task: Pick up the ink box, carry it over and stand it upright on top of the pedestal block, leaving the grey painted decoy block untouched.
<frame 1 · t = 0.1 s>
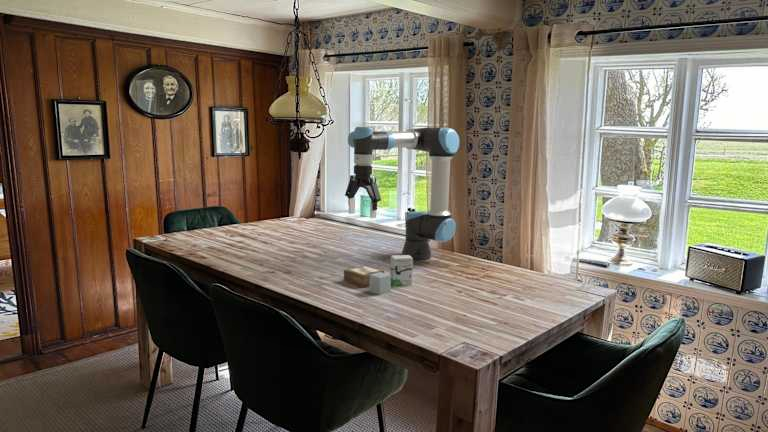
hand: (362, 215, 223), 28 cm above the table, fingers open, 13 cm apart
pedestal: (363, 281, 225), on the table
decoy block: (379, 291, 212), on the table
ink box: (400, 284, 223), on the table
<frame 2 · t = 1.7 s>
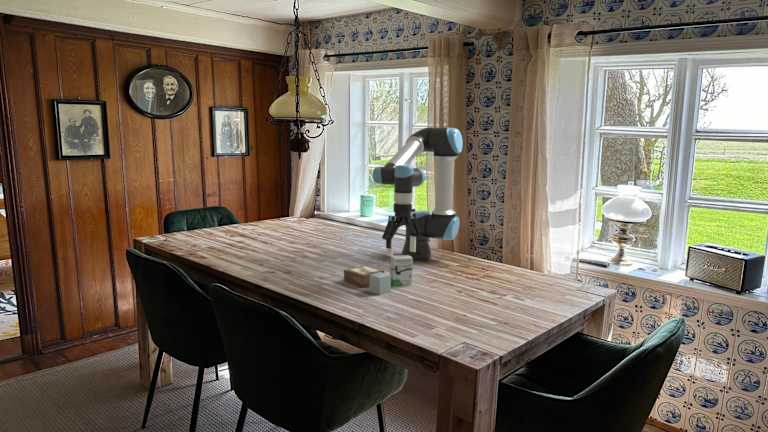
hand: (401, 253, 221), 13 cm above the table, fingers open, 13 cm apart
nothing on the table moved.
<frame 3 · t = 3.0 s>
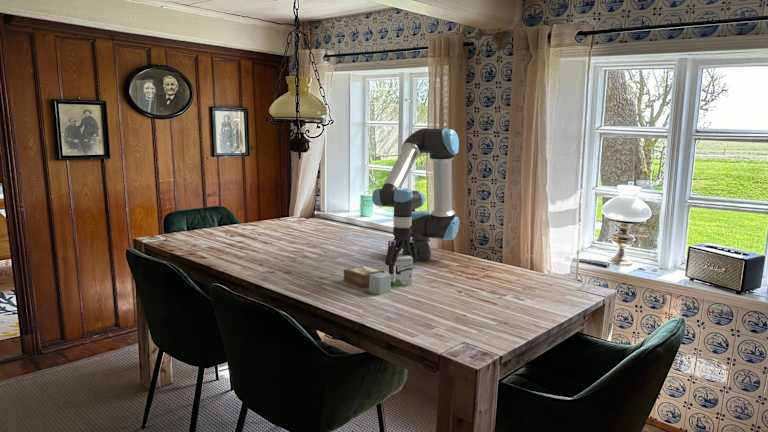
hand: (401, 278, 223), 2 cm above the table, fingers closed on ink box, 9 cm apart
ink box: (400, 284, 223), on the table, touching gripper
everything else where it was.
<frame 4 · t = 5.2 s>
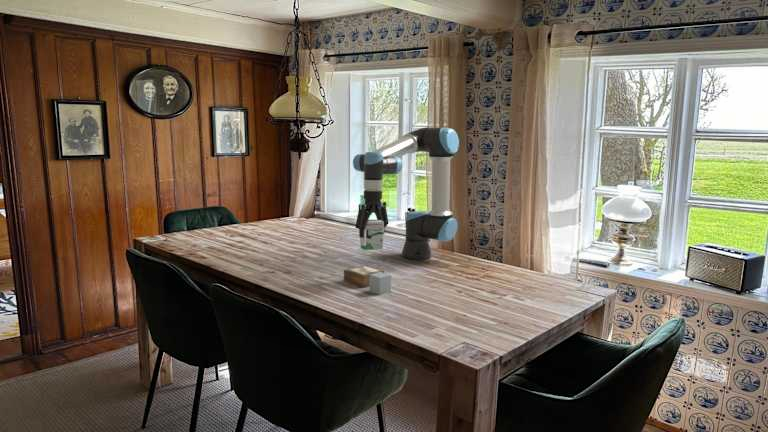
hand: (371, 243, 222), 17 cm above the table, fingers closed on ink box, 9 cm apart
ink box: (371, 249, 222), point 14 cm above the table, touching gripper
everything else where it was.
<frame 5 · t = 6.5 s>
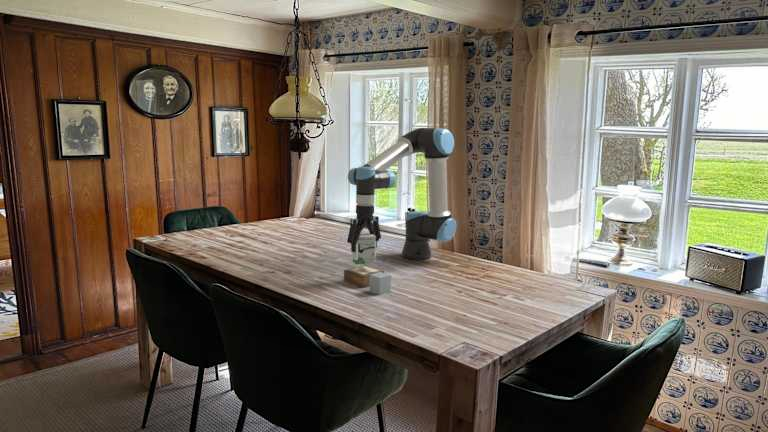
hand: (364, 257, 223), 11 cm above the table, fingers closed on ink box, 9 cm apart
ink box: (364, 262, 223), point 8 cm above the table, touching gripper
everything else where it was.
when the fingers open (8 cm above the table, at t = 7.5 s): ink box stays where it is, resting on pedestal.
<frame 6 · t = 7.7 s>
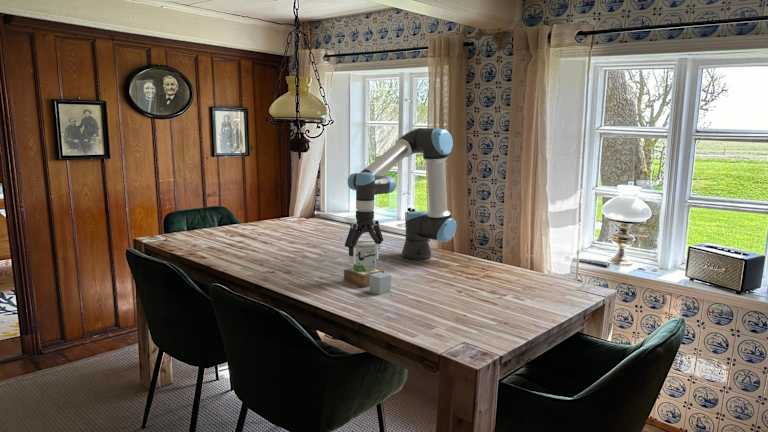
hand: (364, 260, 223), 9 cm above the table, fingers open, 12 cm apart
ink box: (364, 270, 224), point 5 cm above the table, touching pedestal
everything else where it was.
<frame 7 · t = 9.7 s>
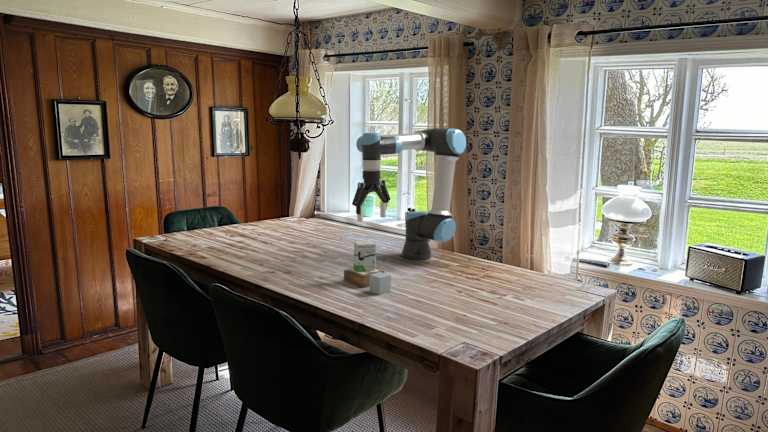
hand: (371, 219, 228), 25 cm above the table, fingers open, 13 cm apart
nothing on the table moved.
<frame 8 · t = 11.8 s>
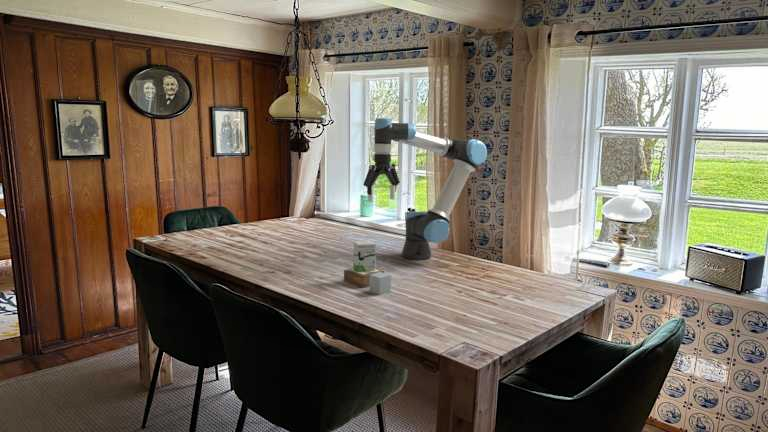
hand: (381, 200, 241), 32 cm above the table, fingers open, 13 cm apart
nothing on the table moved.
at the end: ink box inside the target area on the pedestal (0.2 cm from its centre), point 5.0 cm above the pedestal's base; ink box tilted 0°; the gripper is holding nothing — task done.
